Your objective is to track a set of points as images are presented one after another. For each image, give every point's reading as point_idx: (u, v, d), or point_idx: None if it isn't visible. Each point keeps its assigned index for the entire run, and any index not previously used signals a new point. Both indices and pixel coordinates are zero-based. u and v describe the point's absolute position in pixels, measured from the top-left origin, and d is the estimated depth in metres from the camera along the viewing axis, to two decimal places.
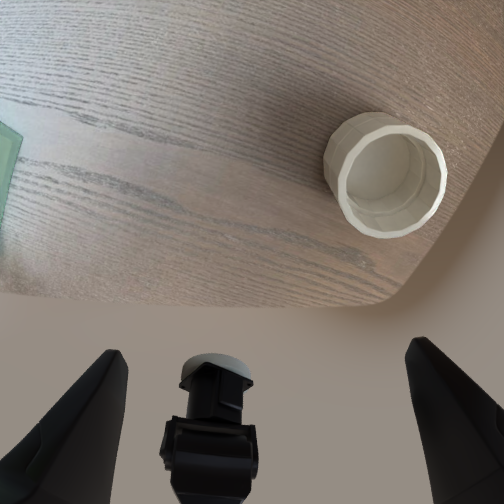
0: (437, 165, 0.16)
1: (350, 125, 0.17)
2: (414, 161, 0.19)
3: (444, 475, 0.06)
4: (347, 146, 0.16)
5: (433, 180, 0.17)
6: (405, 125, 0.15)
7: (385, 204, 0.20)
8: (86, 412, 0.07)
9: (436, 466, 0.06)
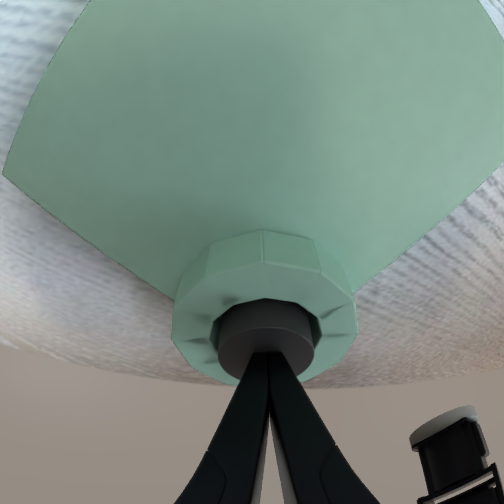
0: None
1: None
2: None
3: None
4: None
5: None
6: None
7: None
8: None
9: (284, 495, 0.06)
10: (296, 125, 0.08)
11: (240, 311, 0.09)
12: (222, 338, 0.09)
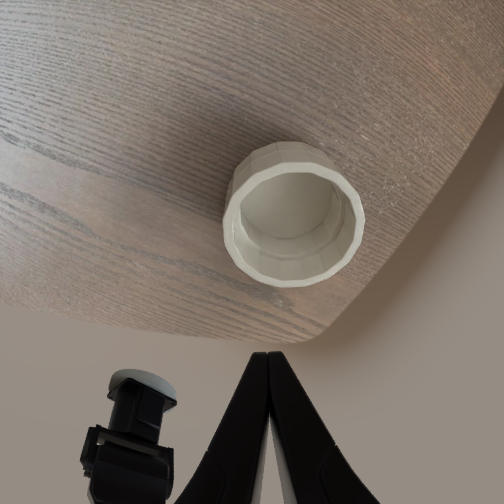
0: (352, 209, 0.15)
1: (253, 158, 0.16)
2: (335, 199, 0.18)
3: None
4: (237, 184, 0.15)
5: (349, 225, 0.16)
6: (308, 162, 0.14)
7: (297, 245, 0.19)
8: None
9: (284, 495, 0.06)
10: None
11: None
12: None
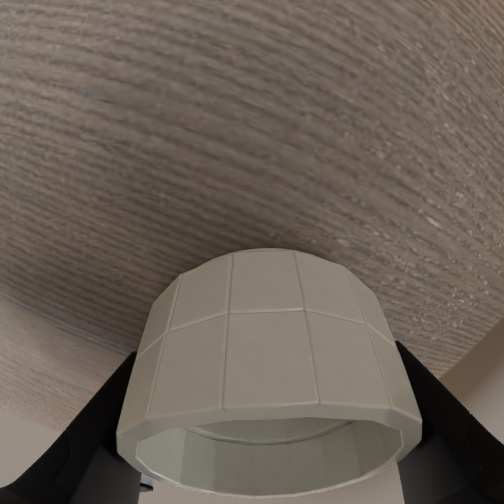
0: (399, 433, 0.06)
1: (175, 309, 0.07)
2: None
3: (415, 484, 0.06)
4: (129, 399, 0.05)
5: (385, 430, 0.07)
6: (303, 400, 0.04)
7: None
8: (116, 417, 0.07)
9: (408, 475, 0.06)
10: None
11: None
12: None
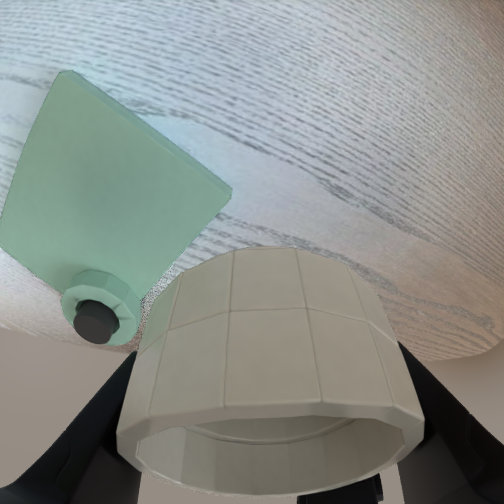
0: (401, 432, 0.06)
1: (175, 307, 0.07)
2: None
3: (415, 484, 0.06)
4: (129, 397, 0.05)
5: (387, 429, 0.07)
6: (305, 398, 0.04)
7: None
8: (116, 417, 0.07)
9: (408, 475, 0.06)
10: (88, 229, 0.18)
11: (80, 308, 0.19)
12: (74, 319, 0.19)
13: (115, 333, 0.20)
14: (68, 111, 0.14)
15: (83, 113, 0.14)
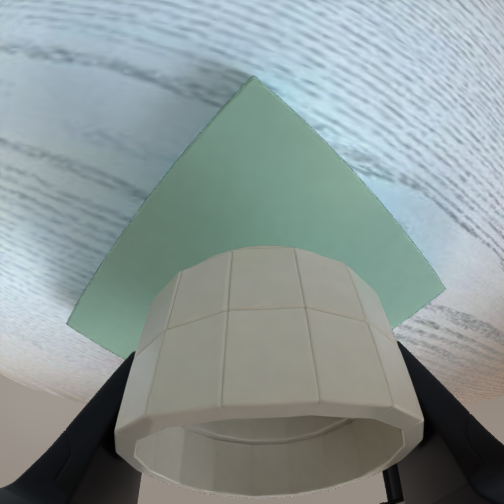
0: (400, 432, 0.06)
1: (174, 307, 0.07)
2: None
3: (415, 484, 0.06)
4: (127, 397, 0.05)
5: (386, 430, 0.07)
6: (303, 397, 0.04)
7: None
8: (117, 417, 0.07)
9: (408, 475, 0.06)
10: None
11: None
12: None
13: None
14: (264, 153, 0.09)
15: (294, 163, 0.10)
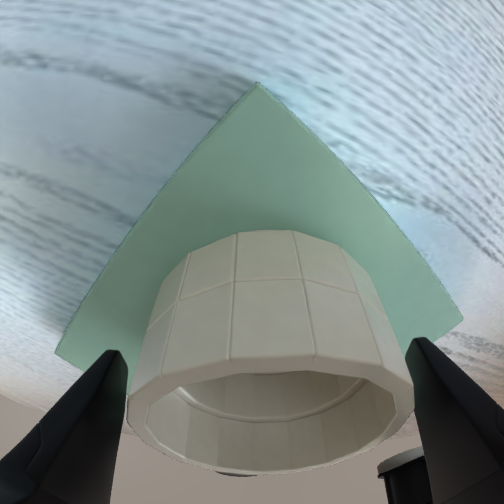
0: (392, 400, 0.06)
1: (184, 283, 0.07)
2: None
3: (444, 475, 0.06)
4: (141, 364, 0.06)
5: (381, 402, 0.07)
6: (301, 351, 0.05)
7: (285, 394, 0.11)
8: (86, 412, 0.07)
9: (436, 467, 0.06)
10: None
11: None
12: None
13: None
14: (270, 178, 0.08)
15: (307, 189, 0.08)
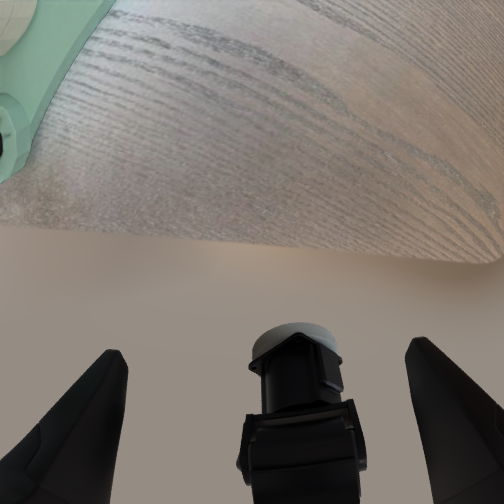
0: None
1: None
2: None
3: (444, 475, 0.06)
4: None
5: None
6: None
7: None
8: (86, 412, 0.07)
9: (436, 467, 0.06)
10: None
11: None
12: None
13: None
14: None
15: None
